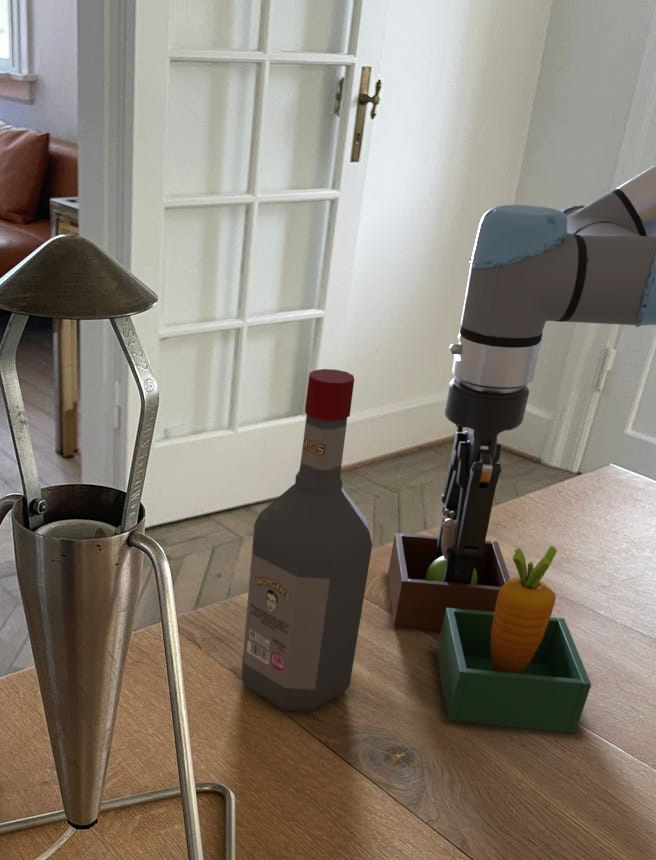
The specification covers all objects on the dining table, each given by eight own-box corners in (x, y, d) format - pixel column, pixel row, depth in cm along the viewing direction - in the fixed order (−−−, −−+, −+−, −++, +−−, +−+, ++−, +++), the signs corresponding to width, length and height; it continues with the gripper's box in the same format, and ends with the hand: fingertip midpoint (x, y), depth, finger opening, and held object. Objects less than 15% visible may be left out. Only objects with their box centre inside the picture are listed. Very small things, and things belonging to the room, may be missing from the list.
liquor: (297, 723, 88) (338, 402, 72) (227, 678, 94) (251, 371, 77) (361, 686, 93) (412, 380, 77) (291, 646, 99) (326, 352, 83)
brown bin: (487, 584, 111) (497, 541, 108) (503, 636, 102) (514, 591, 99) (387, 575, 112) (395, 532, 109) (393, 626, 103) (402, 581, 100)
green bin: (550, 664, 98) (564, 618, 95) (575, 733, 88) (591, 684, 85) (436, 653, 99) (446, 607, 96) (448, 720, 89) (460, 671, 86)
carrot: (477, 697, 91) (511, 556, 83) (476, 668, 96) (509, 532, 87) (531, 706, 91) (571, 564, 82) (528, 676, 95) (566, 539, 87)
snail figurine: (406, 602, 106) (425, 502, 100) (439, 583, 110) (459, 486, 103) (449, 622, 103) (471, 519, 96) (481, 601, 107) (504, 502, 100)
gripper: (440, 350, 102) (407, 545, 114) (463, 412, 86) (421, 632, 98) (513, 354, 101) (471, 550, 114) (550, 418, 85) (497, 638, 97)
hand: (448, 587), depth 106 cm, fingers open, 7 cm apart
